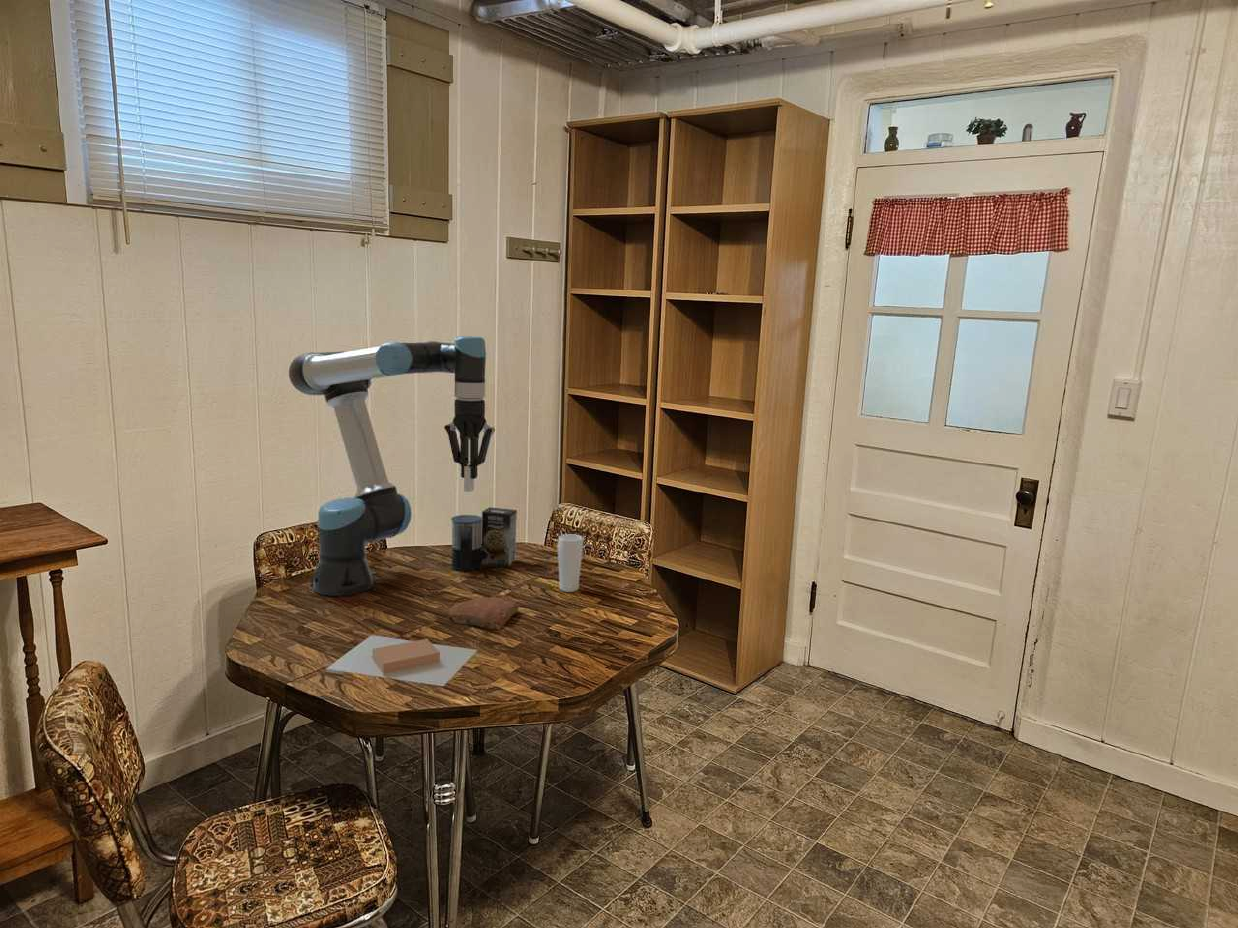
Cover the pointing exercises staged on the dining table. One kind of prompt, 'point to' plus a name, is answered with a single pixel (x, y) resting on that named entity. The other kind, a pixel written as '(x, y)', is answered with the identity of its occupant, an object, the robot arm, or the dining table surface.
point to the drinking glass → (569, 561)
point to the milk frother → (468, 543)
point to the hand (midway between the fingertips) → (469, 490)
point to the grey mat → (431, 674)
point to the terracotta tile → (405, 656)
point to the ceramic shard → (484, 612)
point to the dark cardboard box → (498, 535)
